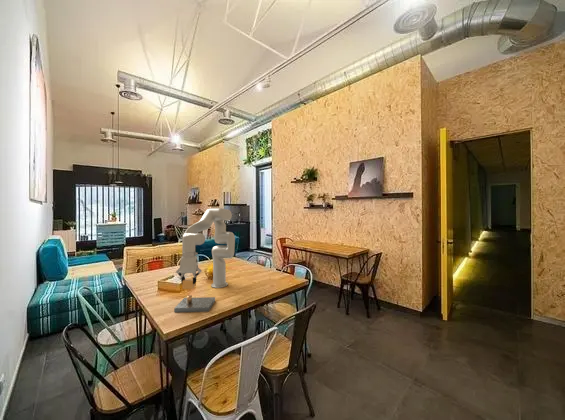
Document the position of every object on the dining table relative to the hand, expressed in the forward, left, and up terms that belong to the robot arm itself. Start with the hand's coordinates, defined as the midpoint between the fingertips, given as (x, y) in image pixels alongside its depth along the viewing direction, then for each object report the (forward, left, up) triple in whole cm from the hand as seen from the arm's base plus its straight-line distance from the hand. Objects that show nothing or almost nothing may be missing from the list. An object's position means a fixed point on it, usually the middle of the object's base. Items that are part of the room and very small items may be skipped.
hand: (188, 283), depth 148 cm
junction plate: (0, +4, -15) cm, 15 cm away
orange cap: (0, 0, -3) cm, 3 cm away
